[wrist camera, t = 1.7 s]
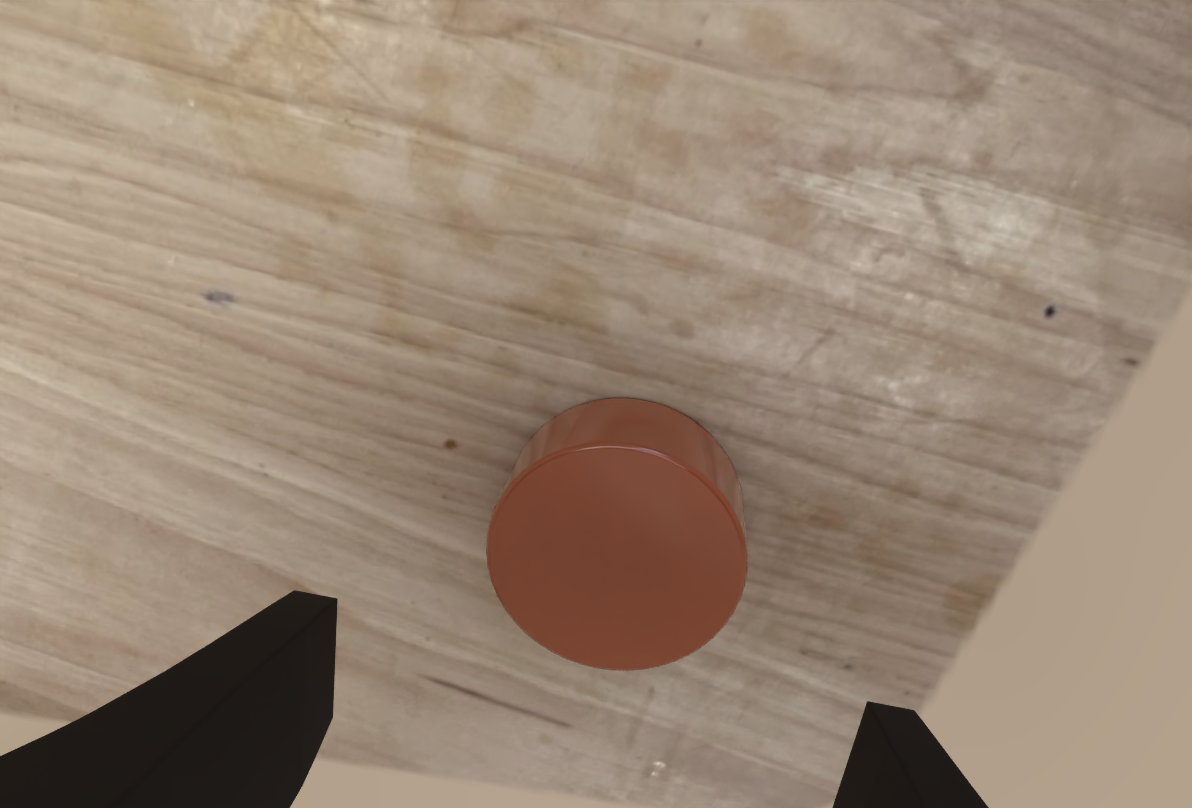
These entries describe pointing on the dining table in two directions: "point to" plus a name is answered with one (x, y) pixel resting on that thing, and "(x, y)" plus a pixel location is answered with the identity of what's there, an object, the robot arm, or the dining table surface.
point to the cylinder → (620, 536)
